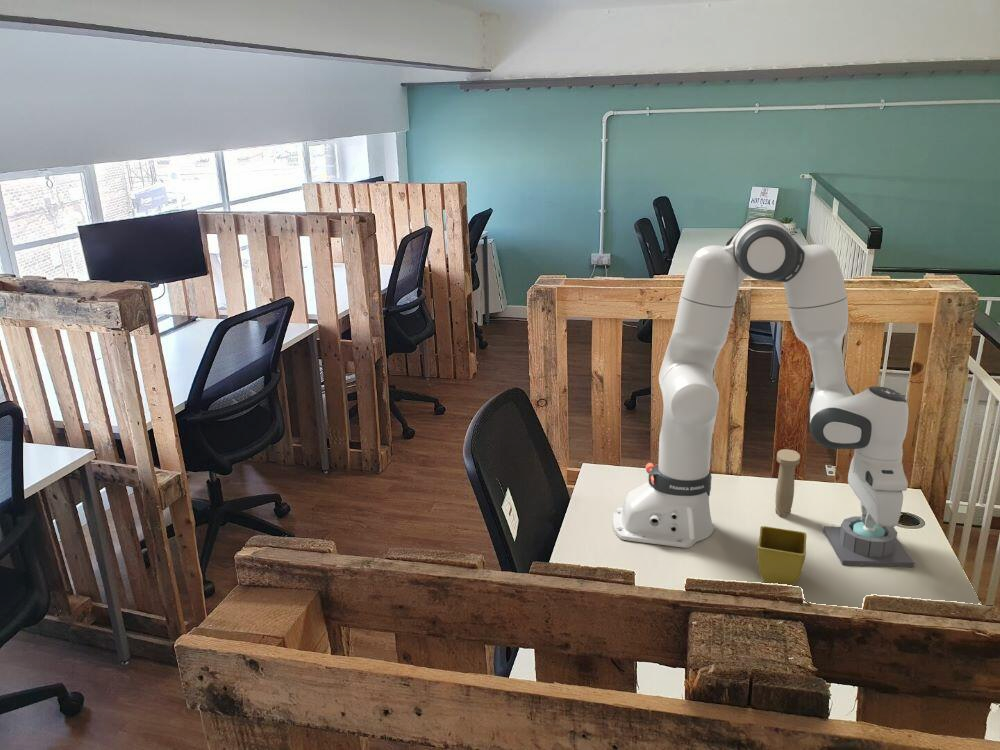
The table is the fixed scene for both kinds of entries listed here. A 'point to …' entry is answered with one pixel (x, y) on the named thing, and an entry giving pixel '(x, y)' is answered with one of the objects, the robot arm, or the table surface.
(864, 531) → the teal rounded cylinder
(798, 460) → the handle
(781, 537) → the flower pot
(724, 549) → the table surface
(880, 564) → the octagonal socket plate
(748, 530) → the table surface
